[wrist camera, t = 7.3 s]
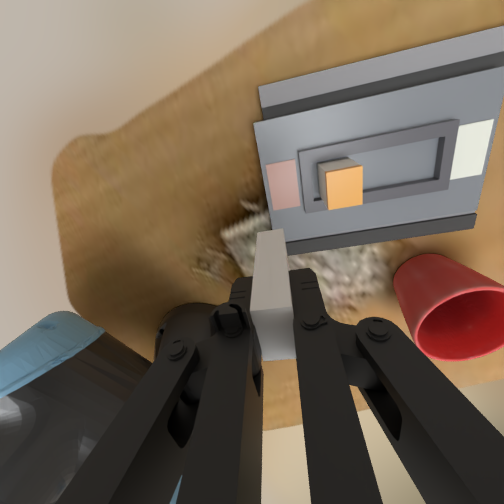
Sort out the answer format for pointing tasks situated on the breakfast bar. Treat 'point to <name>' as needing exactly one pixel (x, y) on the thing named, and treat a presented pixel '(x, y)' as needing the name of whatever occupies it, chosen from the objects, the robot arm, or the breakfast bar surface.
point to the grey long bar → (385, 73)
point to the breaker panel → (384, 154)
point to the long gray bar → (382, 233)
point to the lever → (340, 183)
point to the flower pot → (450, 308)
